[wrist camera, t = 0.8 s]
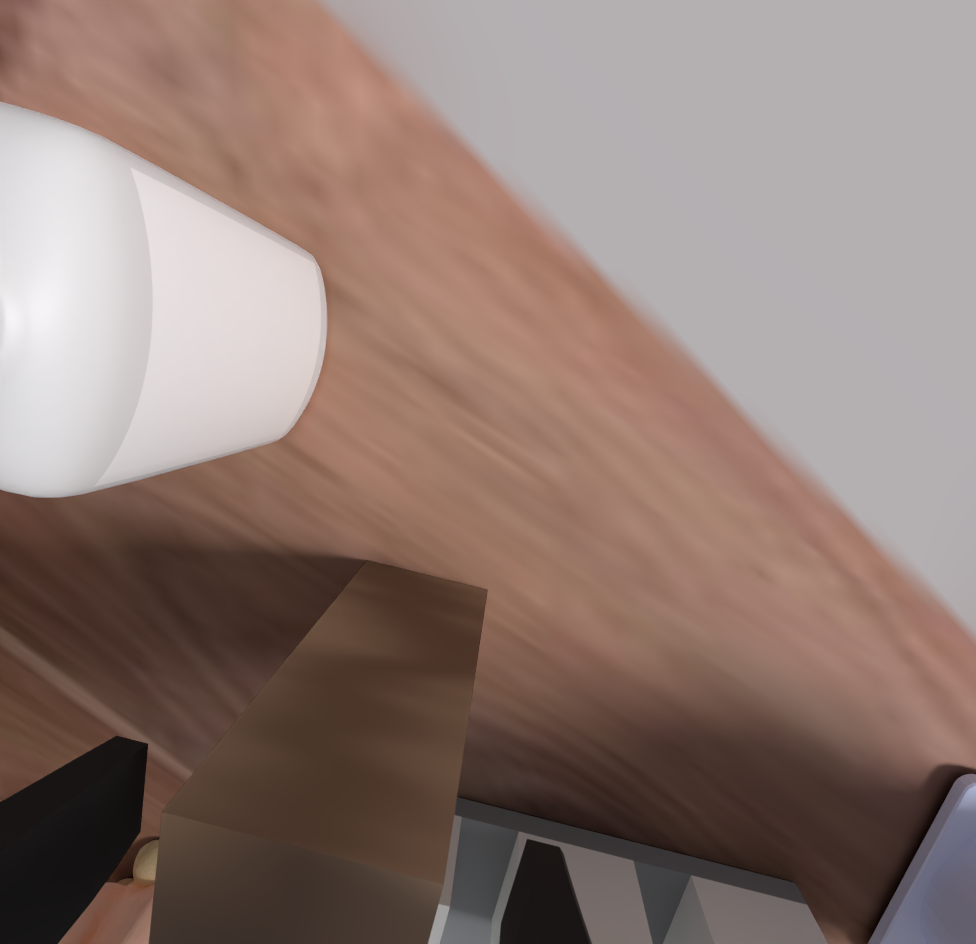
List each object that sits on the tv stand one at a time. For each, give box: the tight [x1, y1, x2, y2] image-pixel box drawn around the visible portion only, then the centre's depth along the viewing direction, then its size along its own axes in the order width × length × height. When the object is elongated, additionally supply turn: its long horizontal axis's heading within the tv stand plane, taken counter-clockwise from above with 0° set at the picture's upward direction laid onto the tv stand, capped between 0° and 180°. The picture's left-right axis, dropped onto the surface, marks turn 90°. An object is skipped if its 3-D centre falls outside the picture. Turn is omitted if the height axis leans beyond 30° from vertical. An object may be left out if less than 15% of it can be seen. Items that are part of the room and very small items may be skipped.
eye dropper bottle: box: [0, 102, 327, 498], centre depth 8 cm, size 4×6×12 cm
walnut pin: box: [149, 560, 488, 944], centre depth 11 cm, size 4×4×9 cm
